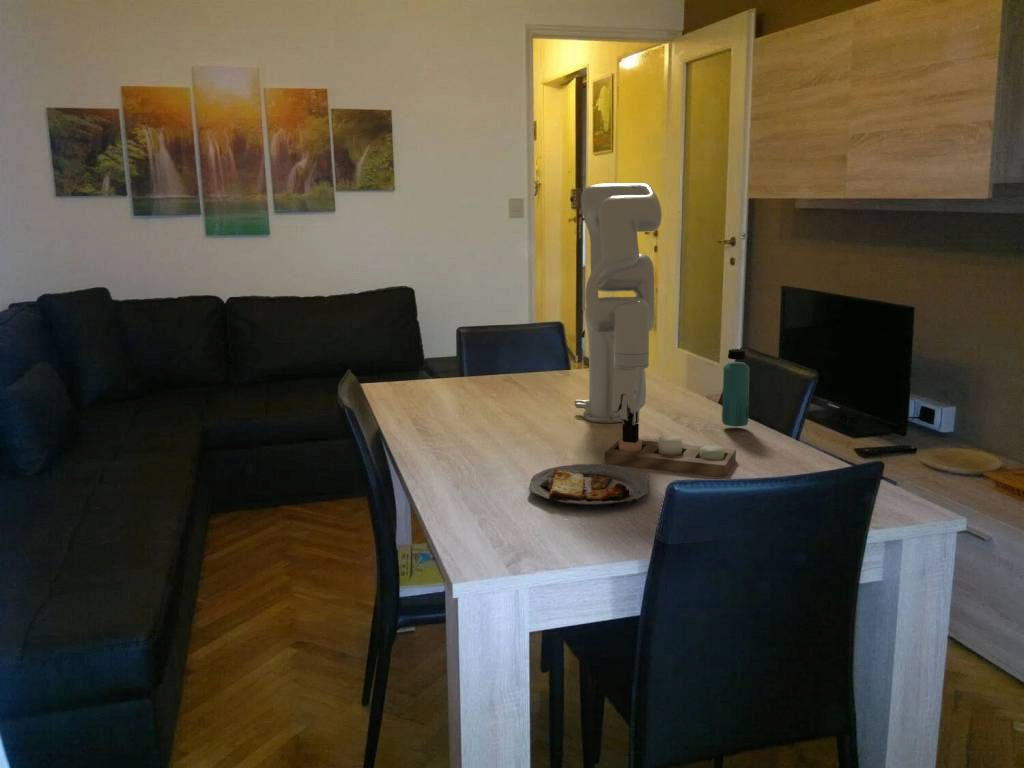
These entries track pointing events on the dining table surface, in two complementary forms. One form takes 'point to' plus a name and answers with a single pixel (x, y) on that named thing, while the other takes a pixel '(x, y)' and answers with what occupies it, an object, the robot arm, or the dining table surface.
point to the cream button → (670, 445)
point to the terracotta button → (630, 446)
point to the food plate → (570, 485)
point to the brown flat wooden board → (670, 459)
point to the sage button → (712, 453)
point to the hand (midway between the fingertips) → (630, 441)
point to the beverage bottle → (735, 390)
